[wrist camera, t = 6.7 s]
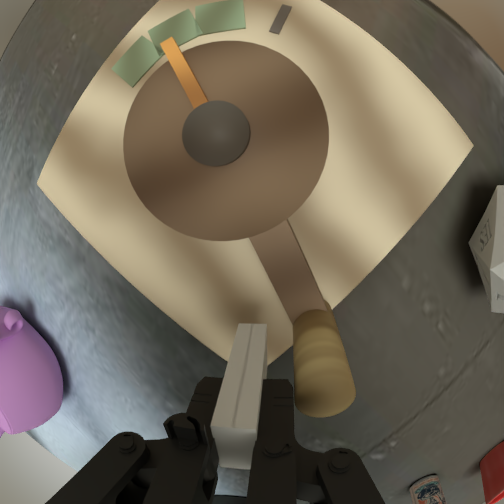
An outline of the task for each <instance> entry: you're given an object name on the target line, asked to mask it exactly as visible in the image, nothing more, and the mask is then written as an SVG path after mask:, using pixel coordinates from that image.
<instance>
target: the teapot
mask: <svg viewBox="0 0 504 504" xmlns="http://www.w3.org/2000/svg"><path fill="white" fill-rule="evenodd" d="M62 398H63V378H62V374H61V370H60V366H59V363H58V361H57V358H56V356H55V354H54V352H53V351H52V349H51V348H50V346H49V345H48V344H47V342H46V341H45V340H44V339H43V338H42V336H41V335H40V334H39V333H38V332H37V331H36V330H35V329H34V328H33V327H32V326H31V325H30V324H29V323H28V322H27V321H26V320H25V319H24V318H22V316H21V314H20V312H19V311H17V310H15V309H11V308H8V307H4V306H0V437H1V436H2V434H3V433H4V432H7V433H8V434H17V433H21V432H24V431H28V430H31V429H33V428H36V427H38V426H40V425H42V424H44V423H45V422H47V421H48V420H49V419H50V418H52V417H53V416H54V415H55V414H56V413H57V412H58V411H59V409H60V407H61V404H62Z"/></svg>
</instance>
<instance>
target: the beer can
mask: <svg viewBox="0 0 504 504" xmlns="http://www.w3.org/2000/svg"><path fill="white" fill-rule="evenodd" d="M409 490H410V494H411V498H412V502H413V504H446V501H445V497H444V494H443V491H442V488H441V485H440V482H439V479H438V476H437V475H434V476H433V475H430V476H427V477H424V478H422V479H420V480H418V481H417V482H415V483H414V484H413V486H412V487H410V489H409Z"/></svg>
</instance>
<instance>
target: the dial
mask: <svg viewBox="0 0 504 504" xmlns="http://www.w3.org/2000/svg"><path fill="white" fill-rule="evenodd" d="M160 45H161V47H162V49H163V51H164V53H165V54H166V56H167V58H168V61H167V62H165V63H164V64H163V65H162V66H160V67H159V68H158V69H157V70H156V71H155V72H154V73H153V74H152V75H151V76H150V77H149V78H148V79H147V80H146V82H145V83H144V85H143V86H142V87H141V89H140V90H139V92H138V94H137V95H136V97H135V99H134V101H133V103H132V105H131V108H130V110H129V113H128V116H127V120H126V124H125V129H124V137H123V153H124V161H125V166H126V170H127V174H128V177H129V179H130V182H131V185H132V187H133V189H134V190H135V192H136V194H137V196H138V198H139V199H140V200H141V202H142V203H143V204H144V206H145V207H146V208H147V209H148V210H149V211H150V212H151V213H152V214H153V215H154V216H155V217H156V218H157V219H159V220H160V221H161V222H162V223H164V224H165V225H167V226H169V227H170V228H172V229H174V230H175V231H178V232H180V233H182V234H185V235H187V236H190V237H194V238H197V239H202V240H209V241H233V240H241V239H245V238H249V239H250V241H251V243H252V245H253V247H254V249H255V251H256V253H257V255H258V257H259V259H260V261H261V263H262V265H263V267H264V269H265V271H266V273H267V275H268V277H269V279H270V281H271V283H272V285H273V287H274V289H275V291H276V293H277V295H278V297H279V299H280V301H281V303H282V305H283V307H284V309H285V311H286V313H287V315H288V317H289V319H290V321H291V323H292V325H293V352H294V395H295V405H296V407H297V409H298V410H299V411H300V412H302V413H303V414H305V415H308V416H311V417H329V416H333V415H336V414H338V413H340V412H342V411H344V410H345V409H347V408H348V407H349V406H350V405H351V404H352V402H353V401H354V399H355V396H356V389H355V386H354V382H353V378H352V375H351V371H350V368H349V364H348V361H347V357H346V354H345V351H344V347H343V344H342V341H341V337H340V334H339V331H338V328H337V325H336V321H335V318H334V315H333V312H332V309H331V306H330V305H329V303H328V302H327V301H326V300H324V298H323V296H322V294H321V291H320V289H319V287H318V284H317V282H316V280H315V278H314V275H313V273H312V271H311V269H310V266H309V264H308V262H307V260H306V257H305V255H304V253H303V251H302V249H301V246H300V244H299V242H298V240H297V238H296V236H295V233H294V231H293V229H292V227H291V225H290V223H289V221H288V219H287V218H289V217H290V216H291V215H292V214H293V213H295V212H296V211H297V210H298V209H299V208H300V207H301V206H302V205H303V203H304V202H305V201H306V200H307V198H308V197H309V196H310V195H311V193H312V191H313V190H314V188H315V186H316V185H317V183H318V181H319V179H320V176H321V174H322V172H323V169H324V166H325V162H326V159H327V154H328V146H329V125H328V119H327V114H326V110H325V107H324V104H323V101H322V99H321V97H320V95H319V93H318V91H317V89H316V87H315V86H314V84H313V83H312V81H311V80H310V78H309V77H308V76H307V75H306V74H305V73H304V72H303V70H302V69H301V68H300V67H299V66H297V65H296V64H295V63H294V62H293V61H291V60H290V59H289V58H287V57H285V56H284V55H282V54H281V53H279V52H277V51H275V50H272V49H270V48H268V47H266V46H262V45H259V44H255V43H251V42H244V41H217V42H210V43H206V44H202V45H198V46H195V47H193V48H190V49H187V50H185V51H183V52H181V50H180V48H179V46H178V45H177V43H176V41H175V39H174V38H173V37H170V38H169V39H167V40H165V41H164V42H162V43H160Z"/></svg>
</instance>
